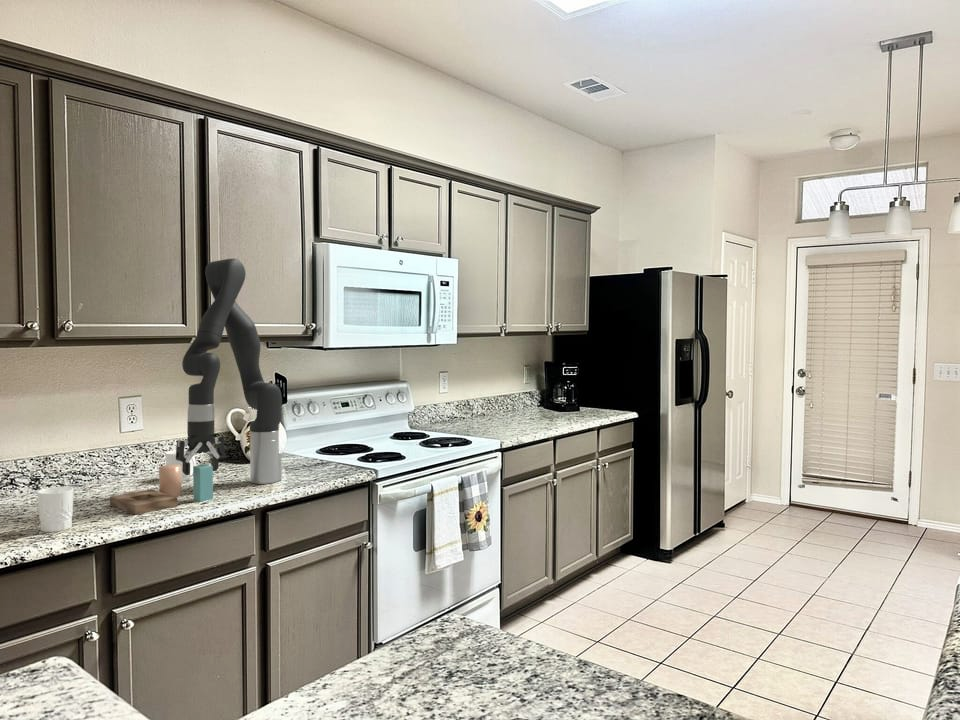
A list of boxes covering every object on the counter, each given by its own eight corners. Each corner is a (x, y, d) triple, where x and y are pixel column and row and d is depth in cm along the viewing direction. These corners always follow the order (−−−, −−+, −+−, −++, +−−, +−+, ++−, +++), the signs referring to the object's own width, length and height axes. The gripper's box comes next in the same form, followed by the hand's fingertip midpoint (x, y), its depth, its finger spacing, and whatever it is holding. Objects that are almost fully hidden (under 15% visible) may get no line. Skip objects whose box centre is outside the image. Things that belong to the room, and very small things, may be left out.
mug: (161, 479, 235) (160, 452, 235) (186, 474, 242) (185, 448, 242) (179, 484, 228) (178, 456, 227) (204, 479, 235) (204, 452, 234)
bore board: (151, 497, 210) (151, 489, 209) (177, 506, 200) (177, 497, 199) (109, 505, 200) (109, 496, 200) (135, 514, 190) (135, 505, 190)
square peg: (206, 497, 211) (205, 464, 210) (213, 499, 208) (212, 466, 208) (193, 499, 207) (193, 466, 207) (200, 501, 205) (200, 468, 205)
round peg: (175, 492, 217) (174, 463, 216) (185, 495, 213) (184, 466, 212) (155, 495, 212) (155, 466, 211) (165, 499, 208) (165, 469, 207)
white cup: (76, 522, 182) (75, 485, 181) (72, 531, 175) (71, 491, 174) (41, 526, 179) (40, 488, 178) (35, 534, 171) (34, 494, 171)
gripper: (216, 416, 215) (216, 468, 215) (171, 419, 204) (171, 474, 204) (229, 418, 210) (229, 471, 210) (184, 422, 199) (183, 477, 199)
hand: (200, 472), depth 207 cm, fingers open, 8 cm apart
